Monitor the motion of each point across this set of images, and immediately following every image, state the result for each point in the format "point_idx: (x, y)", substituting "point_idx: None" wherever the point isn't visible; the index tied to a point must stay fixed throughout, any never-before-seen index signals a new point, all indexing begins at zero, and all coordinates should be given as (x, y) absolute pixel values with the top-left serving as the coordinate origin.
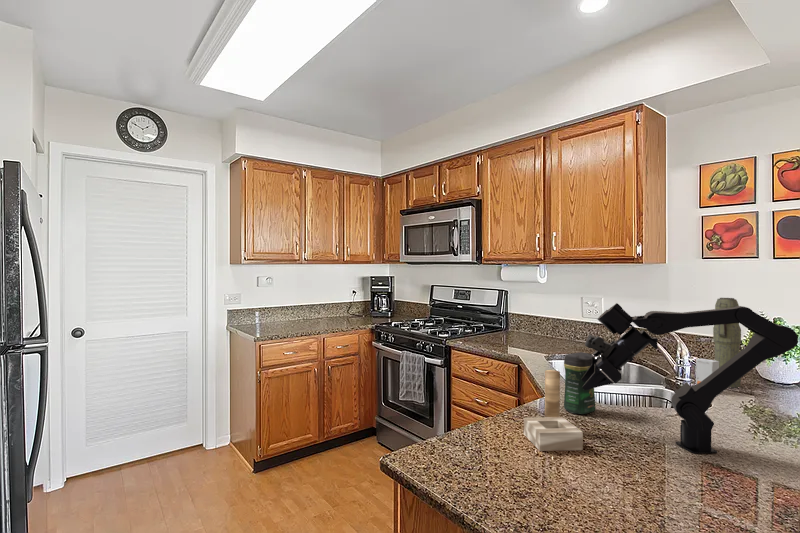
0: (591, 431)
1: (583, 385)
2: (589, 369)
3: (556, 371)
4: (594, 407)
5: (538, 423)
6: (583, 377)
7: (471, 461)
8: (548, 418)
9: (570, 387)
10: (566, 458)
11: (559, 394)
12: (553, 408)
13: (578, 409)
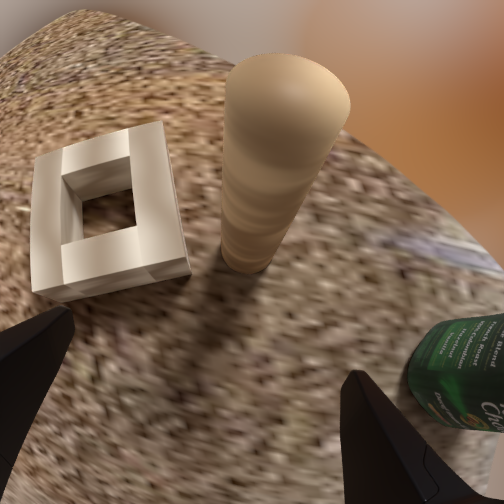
0: (237, 388)
1: (56, 312)
2: (395, 463)
3: (306, 116)
4: (445, 424)
5: (105, 157)
6: (357, 389)
7: (39, 78)
8: (159, 195)
9: (487, 333)
10: (18, 242)
11: (245, 217)
12: (221, 214)
13: (414, 368)
